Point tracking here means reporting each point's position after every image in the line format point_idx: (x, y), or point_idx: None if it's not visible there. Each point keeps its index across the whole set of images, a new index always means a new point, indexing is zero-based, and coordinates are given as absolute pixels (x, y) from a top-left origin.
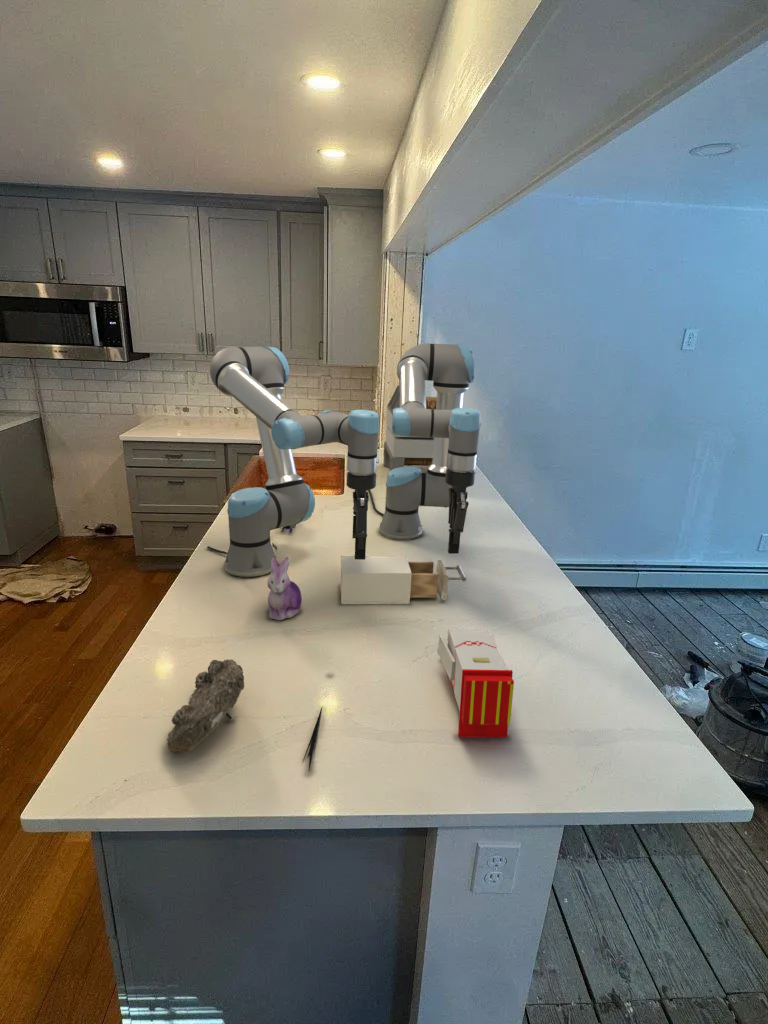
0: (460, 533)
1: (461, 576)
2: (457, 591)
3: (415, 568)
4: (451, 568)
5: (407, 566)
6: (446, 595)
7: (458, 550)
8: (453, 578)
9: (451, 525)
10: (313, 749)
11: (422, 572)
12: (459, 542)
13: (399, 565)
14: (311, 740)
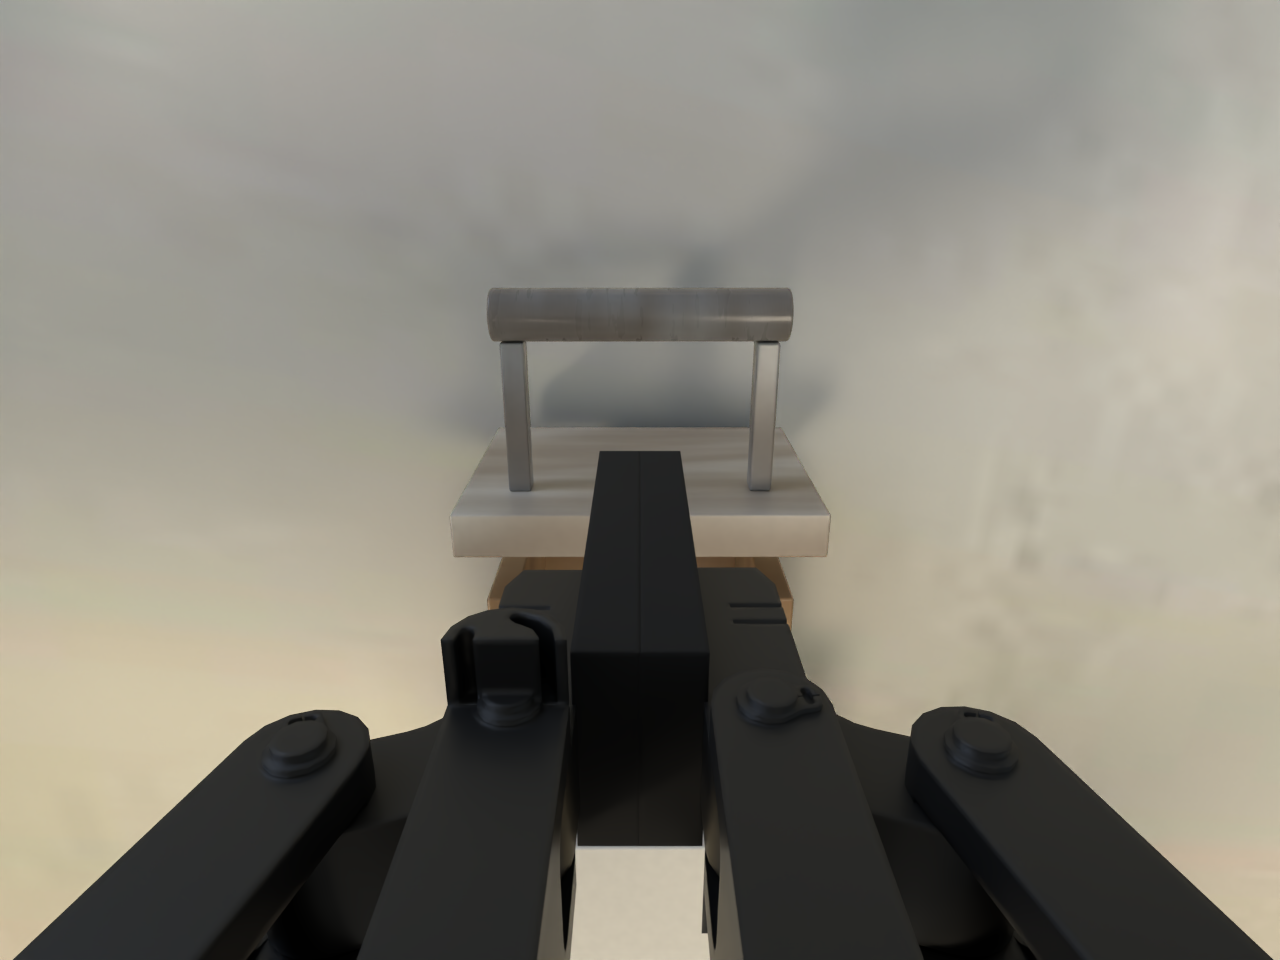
0: (705, 624)
1: (747, 338)
2: (590, 284)
3: None
4: (527, 396)
5: (687, 863)
6: (786, 439)
7: (681, 474)
8: (774, 427)
9: (574, 908)
10: None
11: None
12: (690, 528)
13: (663, 915)
14: None
